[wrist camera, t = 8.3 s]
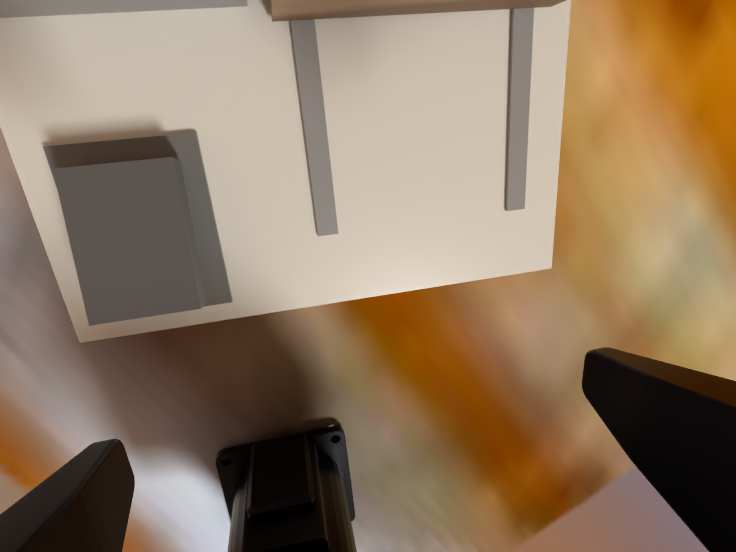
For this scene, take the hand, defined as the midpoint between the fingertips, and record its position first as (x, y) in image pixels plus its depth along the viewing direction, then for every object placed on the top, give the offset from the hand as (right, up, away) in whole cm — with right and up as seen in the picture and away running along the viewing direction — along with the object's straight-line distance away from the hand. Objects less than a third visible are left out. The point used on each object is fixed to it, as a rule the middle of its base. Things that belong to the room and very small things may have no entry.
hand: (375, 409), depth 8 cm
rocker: (-8, +4, +6) cm, 11 cm away
